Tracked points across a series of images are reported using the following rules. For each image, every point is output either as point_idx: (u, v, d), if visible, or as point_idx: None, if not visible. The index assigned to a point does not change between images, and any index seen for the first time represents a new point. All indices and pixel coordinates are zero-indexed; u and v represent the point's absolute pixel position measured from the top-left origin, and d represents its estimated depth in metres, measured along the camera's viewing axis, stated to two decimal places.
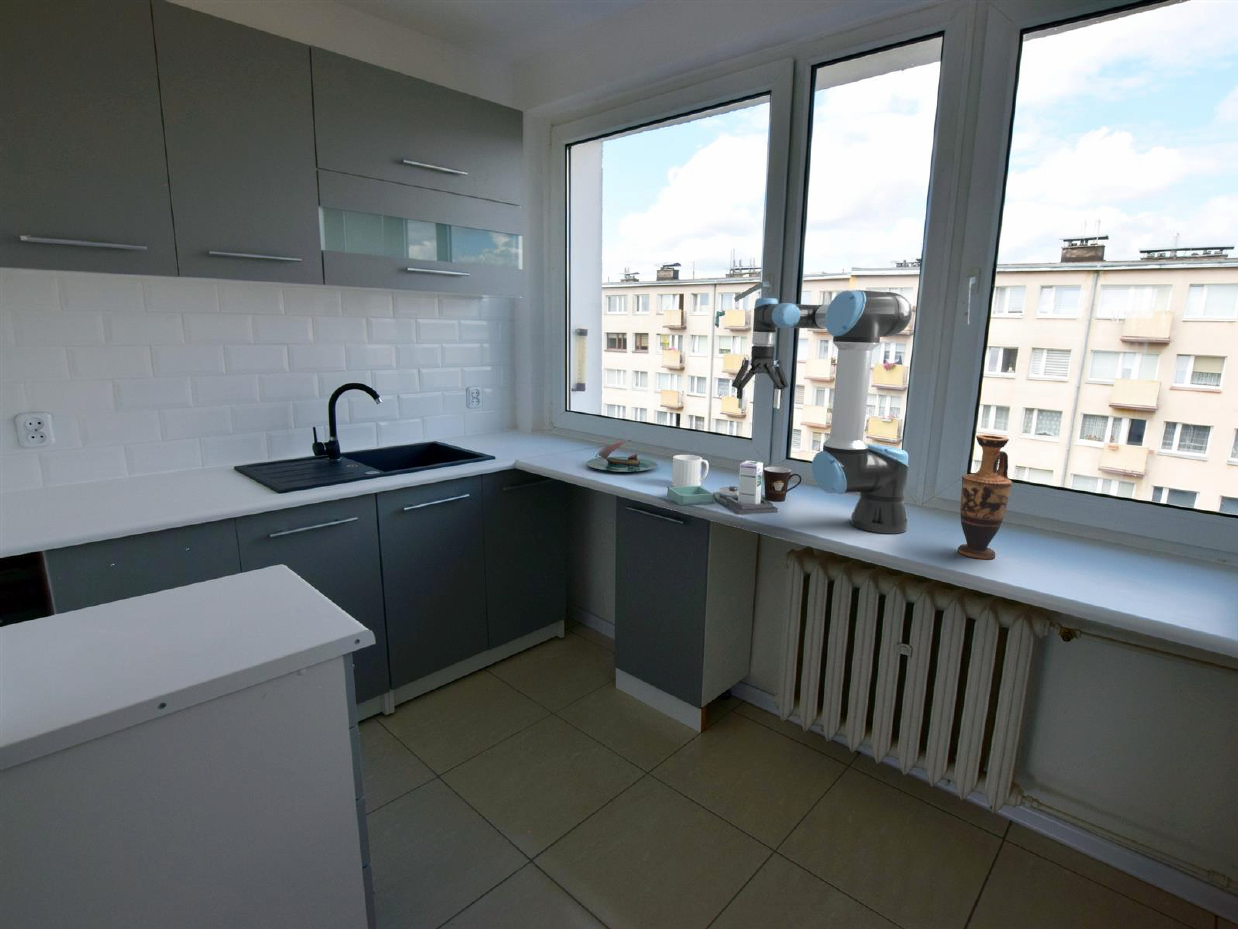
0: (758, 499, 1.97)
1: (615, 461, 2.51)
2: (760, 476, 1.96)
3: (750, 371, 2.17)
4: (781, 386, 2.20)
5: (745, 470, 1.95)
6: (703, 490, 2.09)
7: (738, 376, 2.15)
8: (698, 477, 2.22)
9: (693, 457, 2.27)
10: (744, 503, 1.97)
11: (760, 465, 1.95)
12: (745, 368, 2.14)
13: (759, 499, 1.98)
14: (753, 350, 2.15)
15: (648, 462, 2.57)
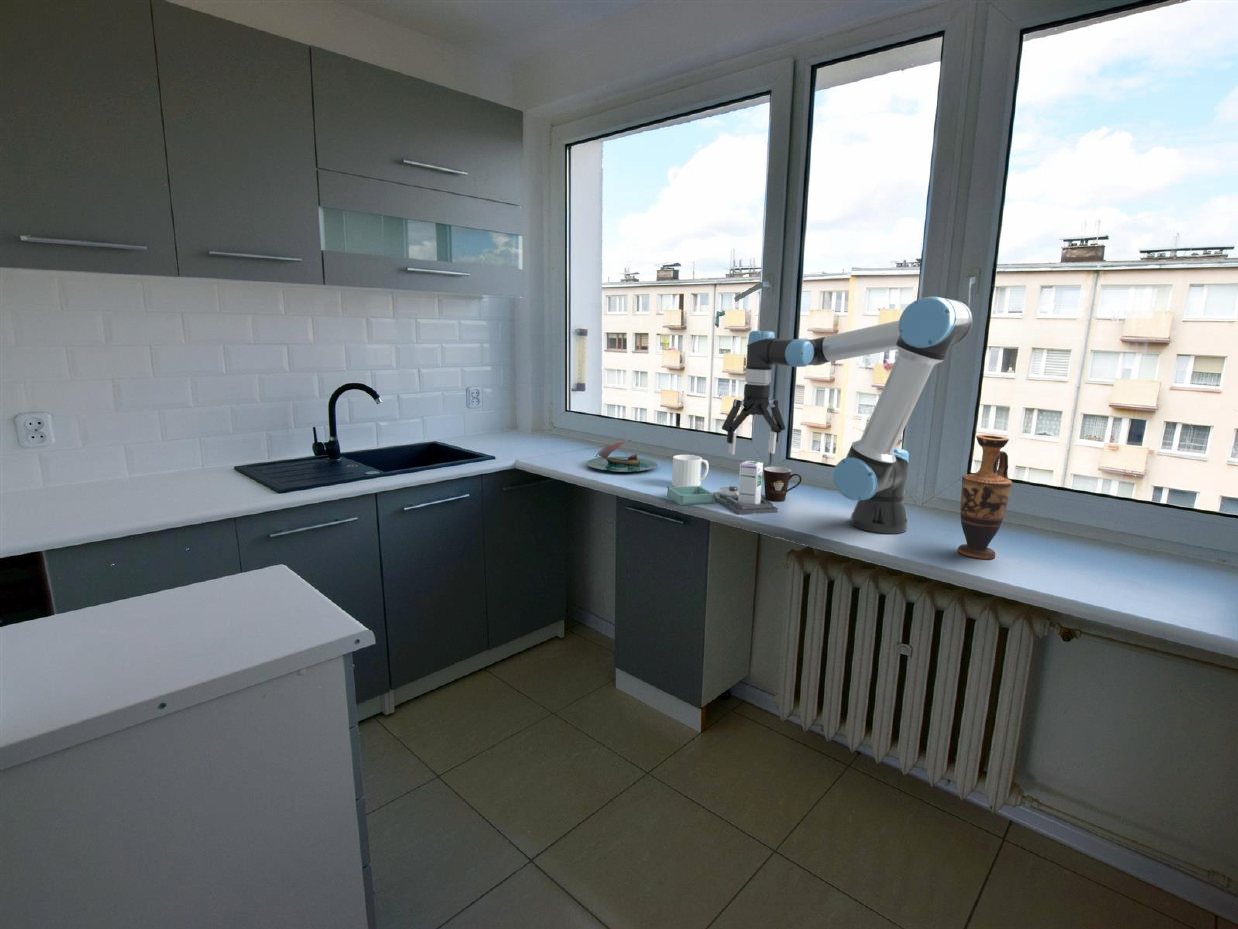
0: (758, 499, 1.97)
1: (615, 461, 2.51)
2: (760, 476, 1.96)
3: (742, 412, 1.92)
4: (777, 429, 1.95)
5: (745, 470, 1.95)
6: (703, 490, 2.09)
7: (729, 418, 1.91)
8: (698, 477, 2.22)
9: (693, 457, 2.27)
10: (744, 503, 1.97)
11: (760, 465, 1.95)
12: (737, 409, 1.90)
13: (759, 499, 1.98)
14: (746, 389, 1.90)
15: (648, 462, 2.57)
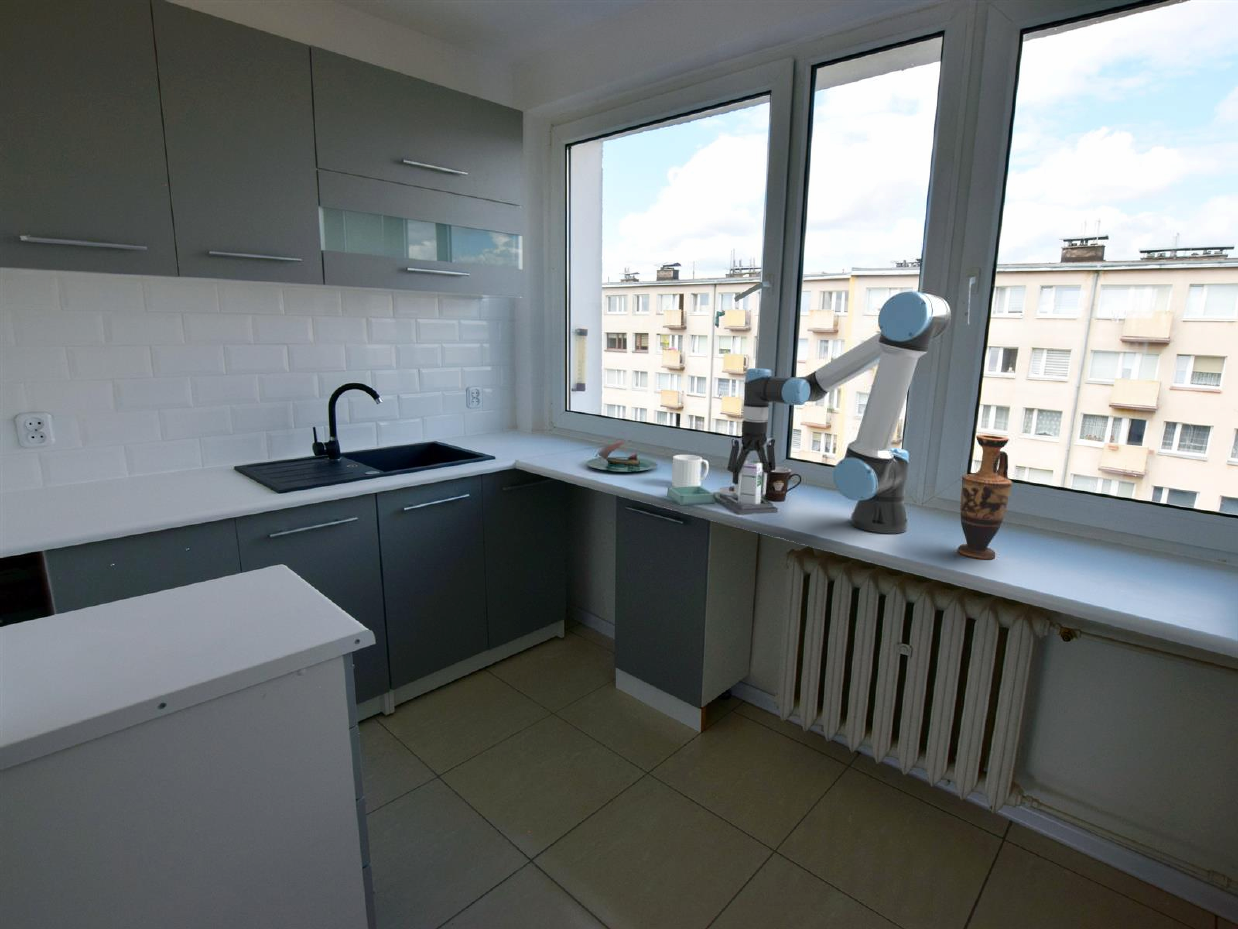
0: (758, 498, 1.97)
1: (615, 461, 2.51)
2: (760, 476, 1.96)
3: (742, 451, 1.95)
4: (768, 469, 1.97)
5: (745, 470, 1.95)
6: (703, 490, 2.09)
7: (731, 459, 1.94)
8: (698, 477, 2.22)
9: (693, 457, 2.27)
10: (744, 503, 1.97)
11: (760, 465, 1.95)
12: (737, 449, 1.92)
13: (759, 499, 1.98)
14: (744, 426, 1.93)
15: (648, 462, 2.57)
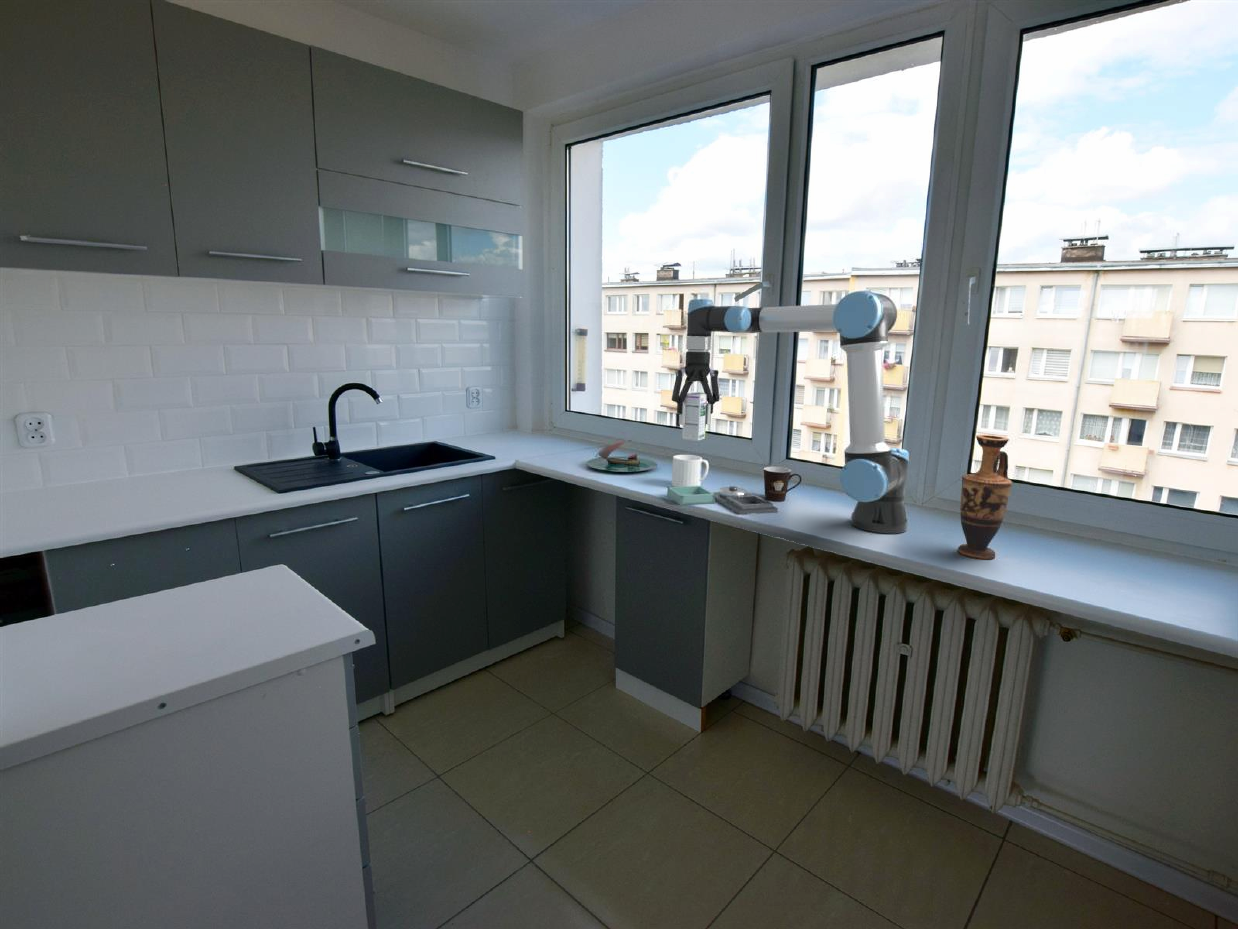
0: (701, 429, 2.01)
1: (615, 461, 2.51)
2: (704, 406, 2.00)
3: (686, 381, 1.99)
4: (712, 400, 2.01)
5: (689, 400, 1.99)
6: (703, 490, 2.09)
7: (675, 389, 1.98)
8: (698, 477, 2.22)
9: (693, 457, 2.27)
10: (688, 433, 2.01)
11: (704, 395, 1.99)
12: (680, 379, 1.96)
13: (703, 429, 2.02)
14: (687, 356, 1.97)
15: (648, 462, 2.57)
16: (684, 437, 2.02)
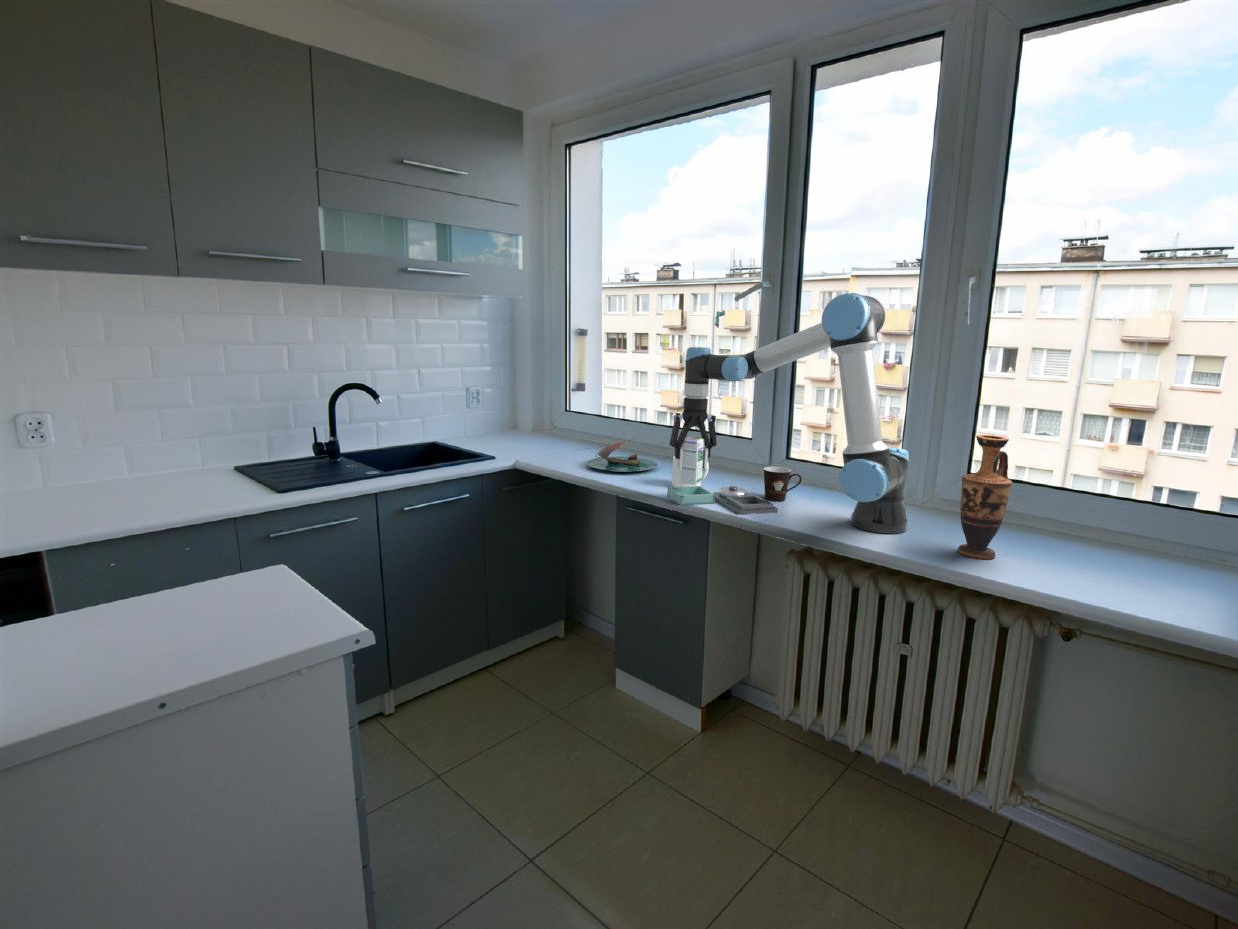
0: (699, 473, 2.04)
1: (615, 461, 2.51)
2: (701, 451, 2.03)
3: (684, 427, 2.02)
4: (709, 445, 2.04)
5: (687, 445, 2.02)
6: (703, 490, 2.09)
7: (673, 435, 2.01)
8: None
9: None
10: (686, 477, 2.04)
11: (701, 441, 2.02)
12: (678, 425, 1.99)
13: (700, 473, 2.05)
14: (684, 402, 1.99)
15: (648, 462, 2.57)
16: (681, 481, 2.05)
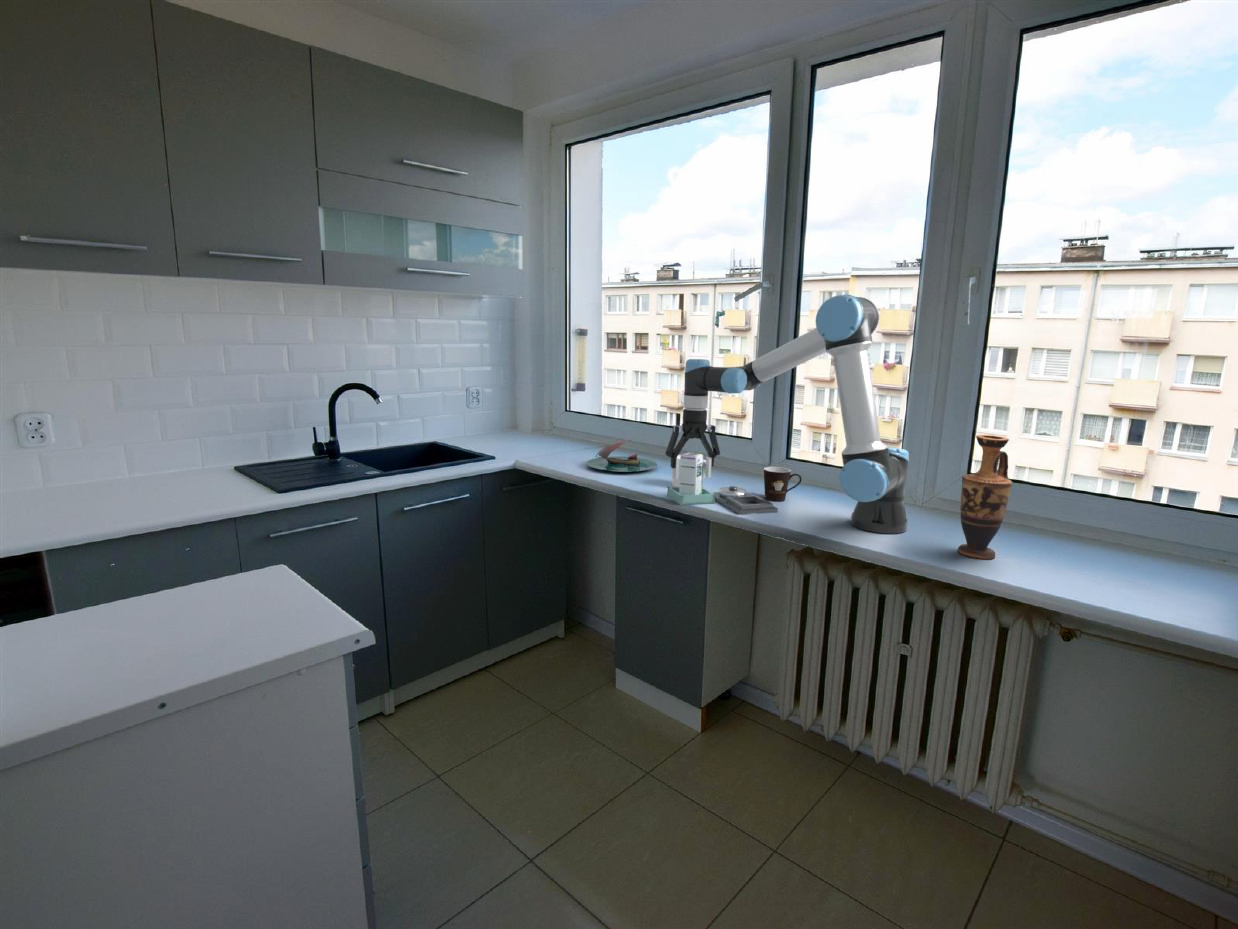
0: (698, 488, 2.05)
1: (615, 461, 2.51)
2: (700, 467, 2.04)
3: (682, 437, 2.02)
4: (712, 454, 2.05)
5: (686, 461, 2.03)
6: (703, 490, 2.09)
7: (670, 444, 2.01)
8: None
9: None
10: (685, 493, 2.05)
11: (700, 456, 2.03)
12: (676, 435, 2.00)
13: (699, 489, 2.06)
14: (684, 414, 2.00)
15: (648, 462, 2.57)
16: None
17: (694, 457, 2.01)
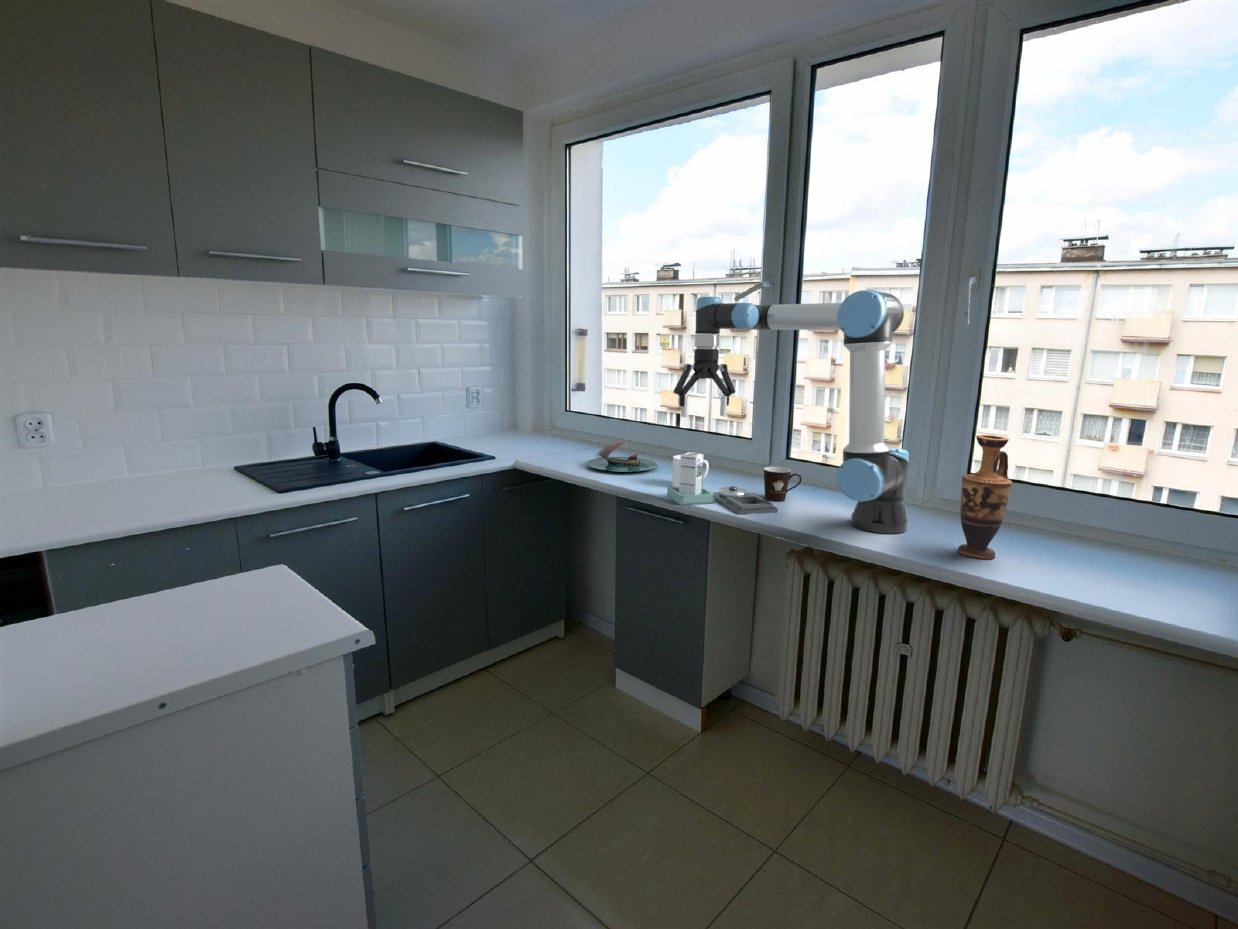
0: (698, 488, 2.05)
1: (615, 461, 2.51)
2: (700, 467, 2.04)
3: (693, 376, 1.99)
4: (727, 392, 2.03)
5: (686, 461, 2.03)
6: (703, 490, 2.09)
7: (680, 382, 1.98)
8: None
9: None
10: (685, 493, 2.05)
11: (700, 456, 2.03)
12: (687, 373, 1.97)
13: (699, 489, 2.06)
14: (695, 353, 1.98)
15: (648, 462, 2.57)
16: None
17: (694, 457, 2.01)
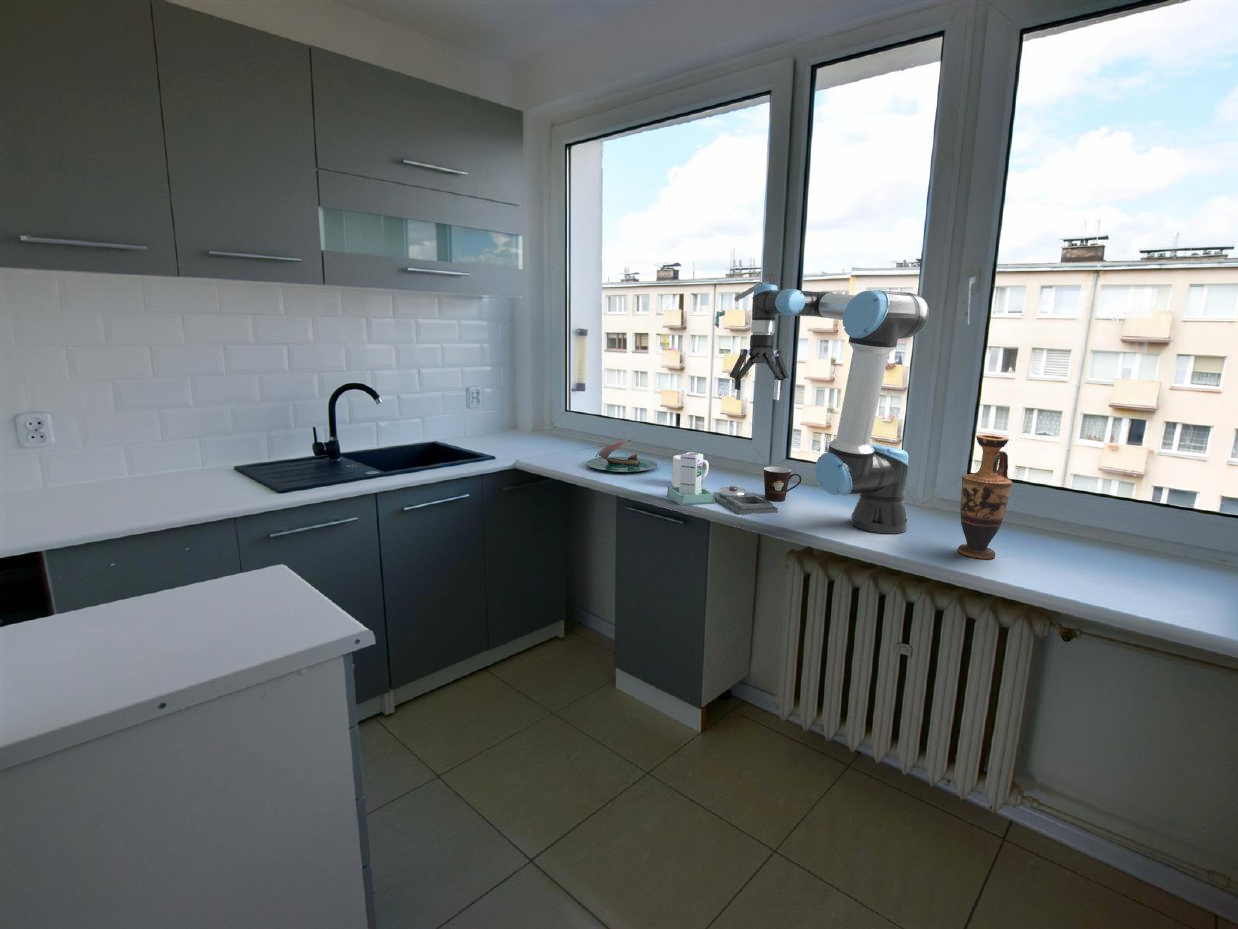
0: (698, 488, 2.05)
1: (615, 461, 2.51)
2: (700, 467, 2.04)
3: (749, 361, 2.08)
4: (781, 377, 2.11)
5: (686, 461, 2.03)
6: (703, 490, 2.09)
7: (736, 366, 2.06)
8: None
9: None
10: (685, 493, 2.05)
11: (700, 456, 2.03)
12: (743, 358, 2.06)
13: (699, 489, 2.06)
14: (752, 339, 2.06)
15: (648, 462, 2.57)
16: None
17: (694, 457, 2.01)
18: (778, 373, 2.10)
